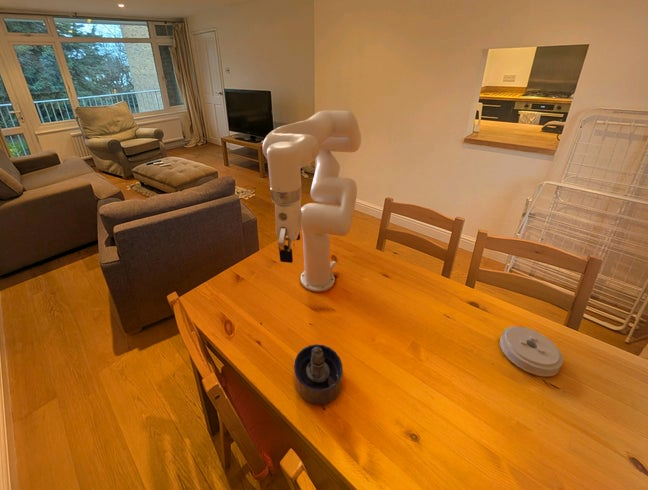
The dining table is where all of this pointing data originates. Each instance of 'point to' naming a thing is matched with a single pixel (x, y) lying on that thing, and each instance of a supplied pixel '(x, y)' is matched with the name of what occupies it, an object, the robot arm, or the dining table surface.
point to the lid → (531, 351)
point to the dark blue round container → (334, 376)
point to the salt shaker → (317, 369)
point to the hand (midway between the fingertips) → (290, 249)
